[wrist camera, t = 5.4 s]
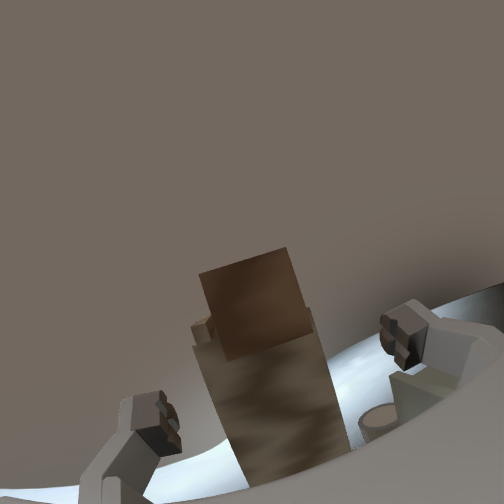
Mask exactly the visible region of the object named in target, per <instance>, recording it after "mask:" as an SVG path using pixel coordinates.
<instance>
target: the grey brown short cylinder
mask: <svg viewBox="0 0 504 504" xmlns="http://www.w3.org/2000/svg"><path fill="white" fill-rule="evenodd" d="M358 425H359V428H360V430H361V433H362V436H363V438H364V441H365V444H368V443H370V442H372V441H374V440H376V439H377V438H379V437H381V436H383V435H385V434H387V433H389V432H391V431H392V430H394V429H396V428H398V427H399V424H398V418H397V413H396V408H395V403H386V404H382V405H379V406H376V407H374V408H371V409H370V410H368V411H367V412H365V413H364V414H363V415H362V416H361V417H360V418H359V421H358Z"/></svg>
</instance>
